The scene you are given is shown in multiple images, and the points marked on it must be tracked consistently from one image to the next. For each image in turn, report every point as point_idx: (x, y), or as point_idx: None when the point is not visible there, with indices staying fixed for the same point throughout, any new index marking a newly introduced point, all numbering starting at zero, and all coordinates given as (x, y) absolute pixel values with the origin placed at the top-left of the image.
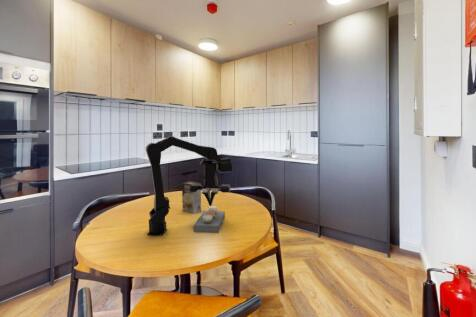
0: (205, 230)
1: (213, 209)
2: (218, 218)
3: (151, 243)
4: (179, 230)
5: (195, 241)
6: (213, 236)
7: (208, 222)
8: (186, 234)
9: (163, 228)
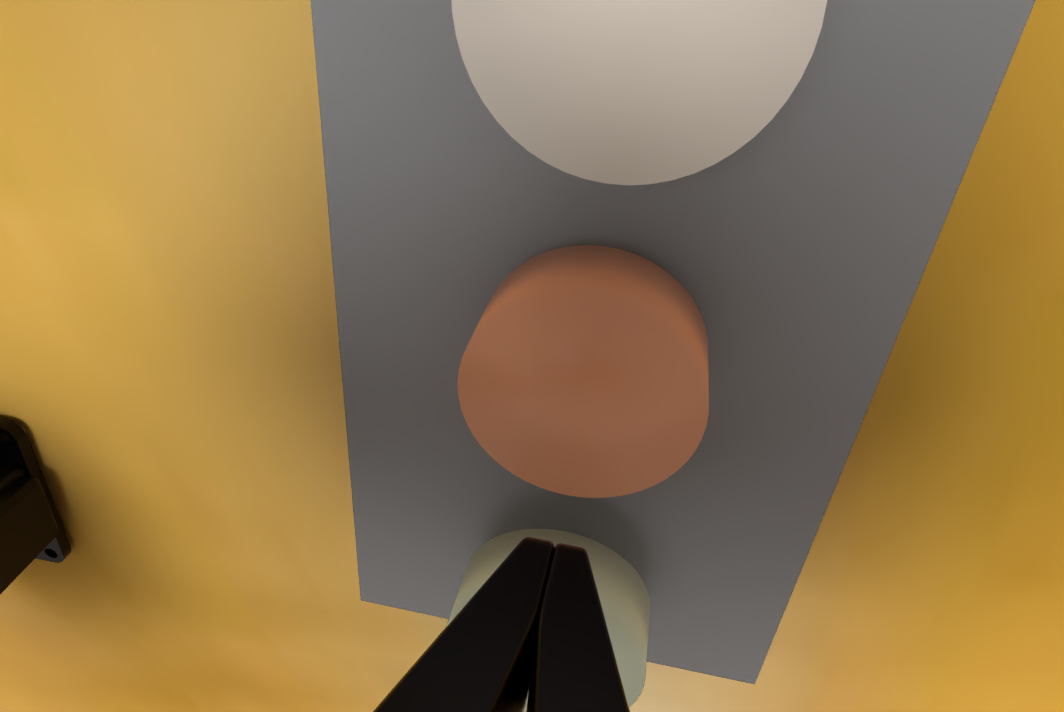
0: None
1: (657, 170)
2: (790, 392)
3: (97, 661)
4: (187, 448)
5: None
6: None
7: None
8: (328, 560)
9: (15, 574)
